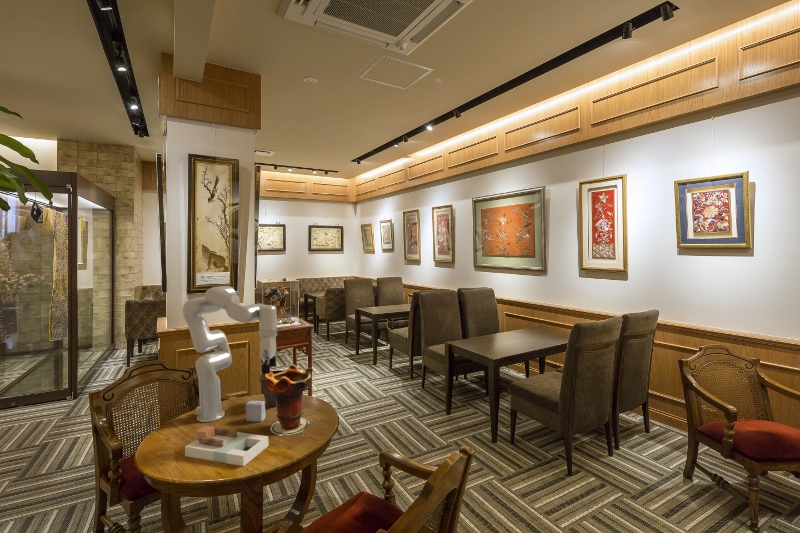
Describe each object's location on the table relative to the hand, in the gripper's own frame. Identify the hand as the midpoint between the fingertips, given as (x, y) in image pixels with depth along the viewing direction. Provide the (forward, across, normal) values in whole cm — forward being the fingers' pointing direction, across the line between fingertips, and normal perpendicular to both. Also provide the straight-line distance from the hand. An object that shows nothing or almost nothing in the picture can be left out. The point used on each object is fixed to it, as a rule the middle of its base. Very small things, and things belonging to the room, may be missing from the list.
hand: (269, 369), depth 178 cm
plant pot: (+29, -31, -7) cm, 43 cm away
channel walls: (+25, +15, -17) cm, 34 cm away
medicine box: (+29, -12, -11) cm, 33 cm away
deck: (+28, +17, -13) cm, 35 cm away
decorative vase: (+29, -4, +8) cm, 30 cm away
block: (+25, +13, -23) cm, 36 cm away
